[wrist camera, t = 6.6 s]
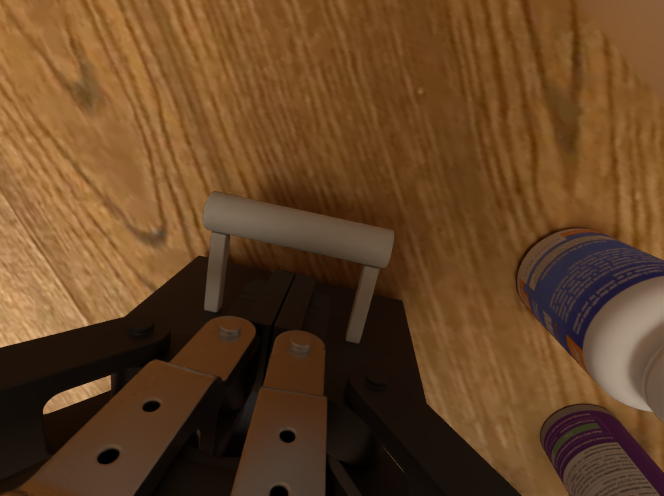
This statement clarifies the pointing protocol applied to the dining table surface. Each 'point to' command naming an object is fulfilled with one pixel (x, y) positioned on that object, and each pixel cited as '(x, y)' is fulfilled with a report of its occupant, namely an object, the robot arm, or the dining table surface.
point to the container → (598, 455)
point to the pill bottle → (602, 310)
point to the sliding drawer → (347, 304)
